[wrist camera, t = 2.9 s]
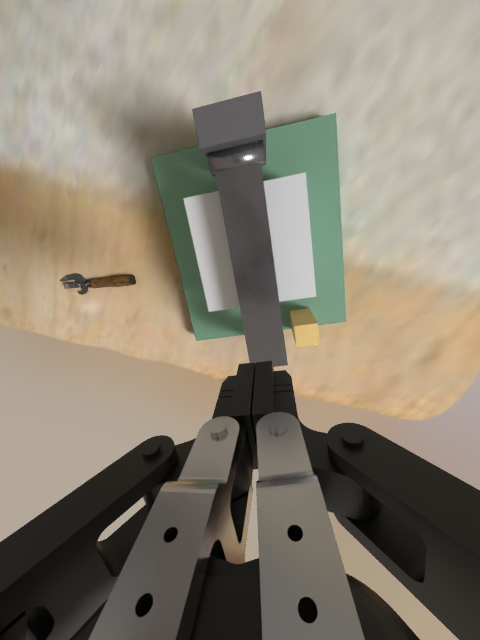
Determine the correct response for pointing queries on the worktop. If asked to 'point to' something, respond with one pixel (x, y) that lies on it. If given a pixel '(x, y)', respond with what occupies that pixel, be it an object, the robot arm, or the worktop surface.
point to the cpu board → (322, 213)
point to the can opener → (98, 282)
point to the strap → (250, 247)
